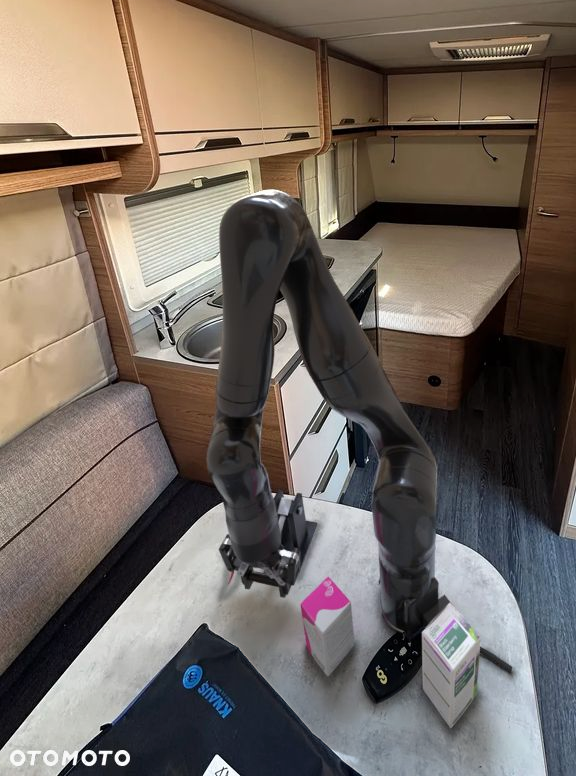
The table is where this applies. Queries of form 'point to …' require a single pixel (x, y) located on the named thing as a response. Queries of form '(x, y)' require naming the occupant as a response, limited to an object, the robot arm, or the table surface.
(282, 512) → the lever
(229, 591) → the table surface
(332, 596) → the supplement box
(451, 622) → the syrup box
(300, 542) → the bracket
